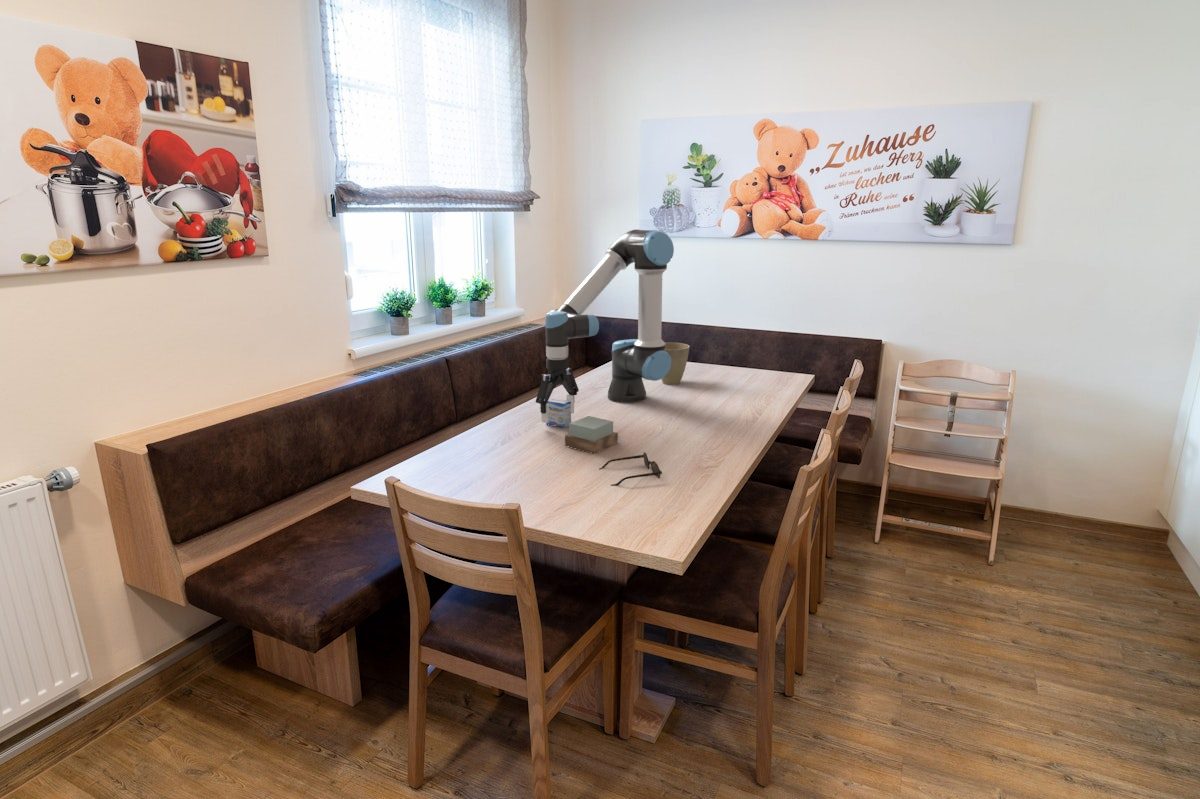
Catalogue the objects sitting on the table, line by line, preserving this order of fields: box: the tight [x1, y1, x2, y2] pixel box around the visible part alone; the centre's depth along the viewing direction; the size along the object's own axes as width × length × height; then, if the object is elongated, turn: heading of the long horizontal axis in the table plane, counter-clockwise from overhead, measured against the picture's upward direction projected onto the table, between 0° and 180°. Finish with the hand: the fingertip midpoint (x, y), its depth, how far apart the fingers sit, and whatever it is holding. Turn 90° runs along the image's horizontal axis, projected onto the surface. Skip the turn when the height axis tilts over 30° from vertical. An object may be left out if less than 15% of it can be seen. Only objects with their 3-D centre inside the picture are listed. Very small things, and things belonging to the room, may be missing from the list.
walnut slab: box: [564, 431, 619, 454], centre depth 230 cm, size 12×12×4 cm
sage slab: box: [568, 415, 614, 441], centre depth 229 cm, size 10×10×4 cm
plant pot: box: [661, 342, 690, 386], centre depth 303 cm, size 15×15×16 cm
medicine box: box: [545, 398, 572, 428], centre depth 250 cm, size 8×4×9 cm, turn 62°
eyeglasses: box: [598, 451, 663, 487], centre depth 205 cm, size 15×15×5 cm
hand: (558, 417), depth 250 cm, fingers open, 13 cm apart
